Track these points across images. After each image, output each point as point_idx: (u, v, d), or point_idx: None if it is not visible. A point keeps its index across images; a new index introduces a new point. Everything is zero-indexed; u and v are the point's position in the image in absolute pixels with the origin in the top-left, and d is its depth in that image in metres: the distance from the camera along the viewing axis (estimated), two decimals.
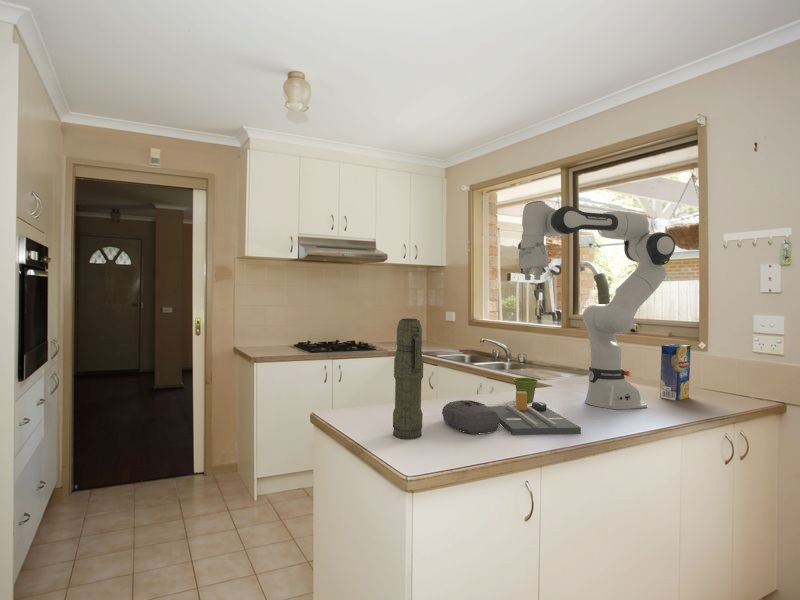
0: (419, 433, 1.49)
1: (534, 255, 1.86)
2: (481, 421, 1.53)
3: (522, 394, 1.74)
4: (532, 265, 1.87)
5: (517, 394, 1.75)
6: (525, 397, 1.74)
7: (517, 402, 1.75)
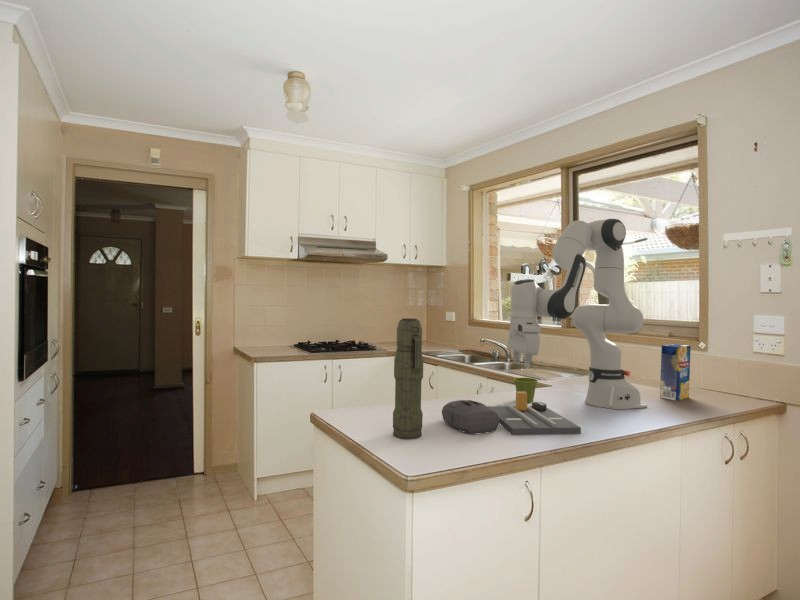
0: (419, 433, 1.49)
1: None
2: (481, 421, 1.53)
3: (522, 394, 1.74)
4: None
5: (517, 394, 1.75)
6: (525, 397, 1.74)
7: (517, 402, 1.75)
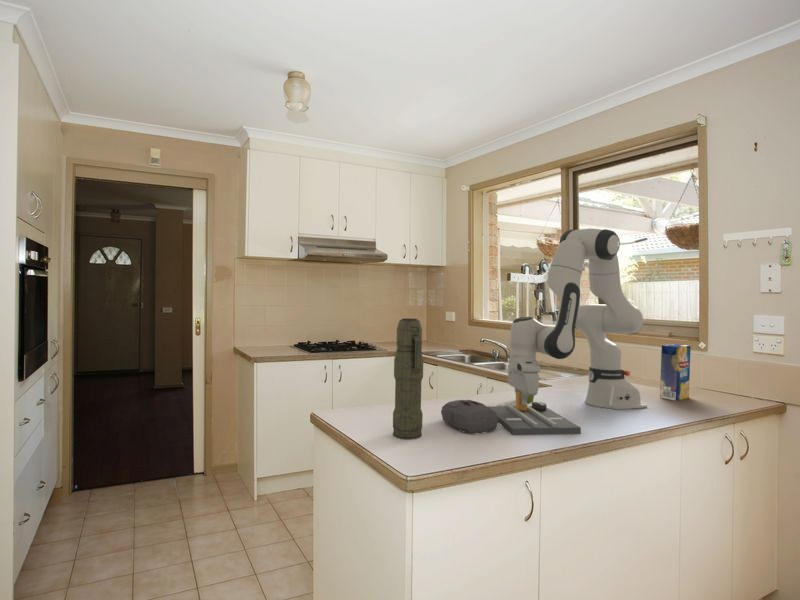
0: (419, 433, 1.49)
1: None
2: (480, 421, 1.53)
3: None
4: None
5: (517, 394, 1.75)
6: None
7: (517, 402, 1.75)
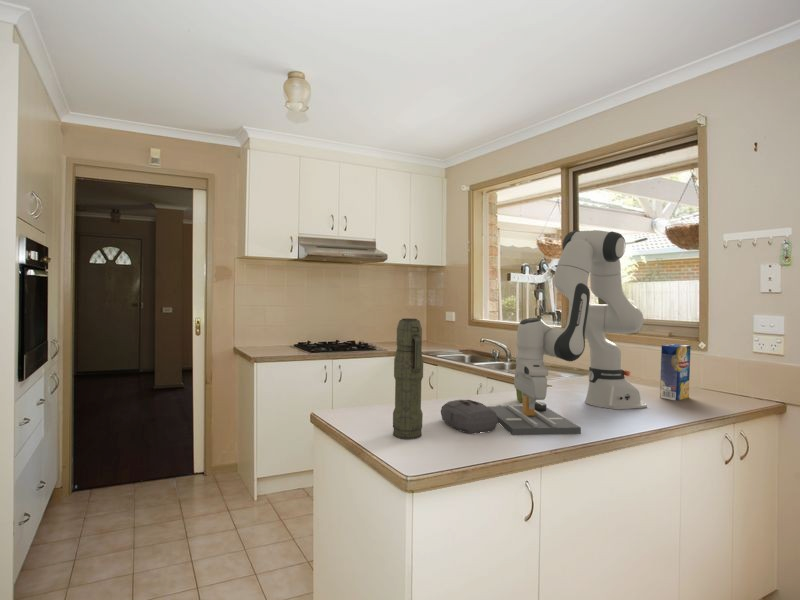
0: (419, 433, 1.49)
1: None
2: (480, 421, 1.54)
3: None
4: None
5: (524, 398, 1.69)
6: None
7: (524, 407, 1.69)
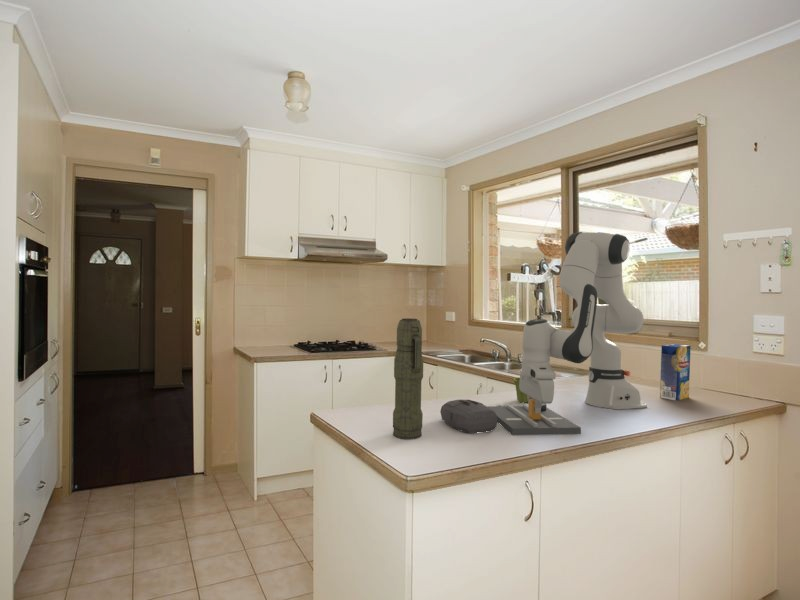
0: (419, 433, 1.49)
1: None
2: (480, 420, 1.54)
3: None
4: None
5: (530, 402, 1.64)
6: None
7: (530, 411, 1.64)
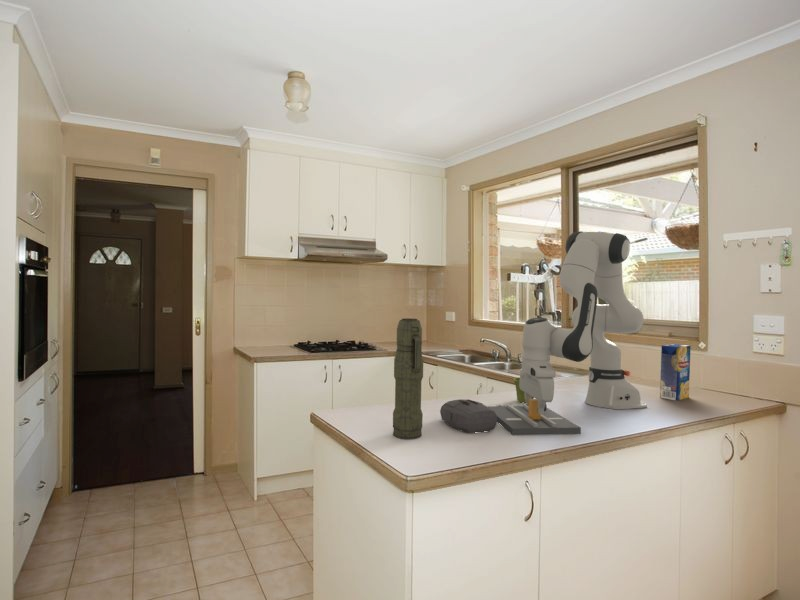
0: (419, 433, 1.49)
1: None
2: (480, 420, 1.54)
3: (536, 402, 1.62)
4: None
5: (530, 402, 1.64)
6: None
7: (530, 411, 1.64)
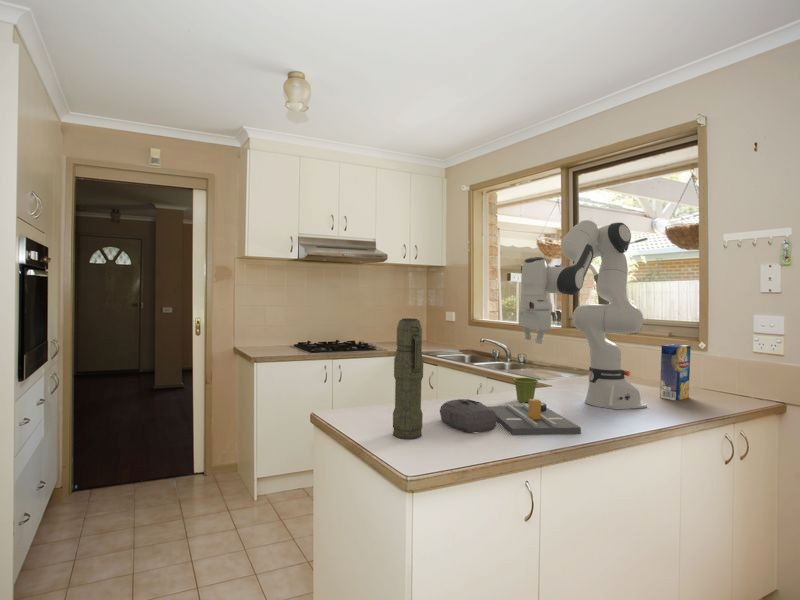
0: (419, 433, 1.49)
1: None
2: (479, 420, 1.54)
3: (536, 402, 1.62)
4: None
5: (530, 402, 1.64)
6: (539, 405, 1.63)
7: (530, 411, 1.64)
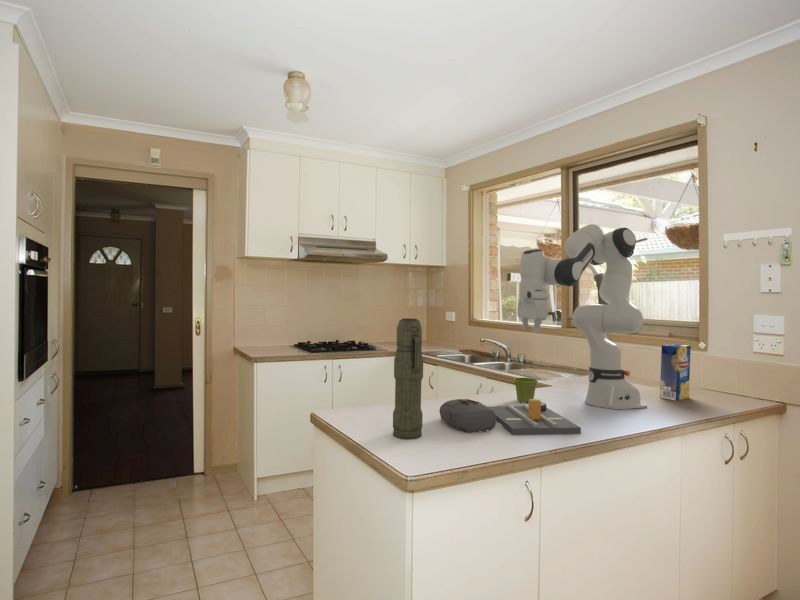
0: (419, 433, 1.49)
1: None
2: (479, 420, 1.55)
3: (536, 402, 1.62)
4: None
5: (530, 402, 1.64)
6: (539, 405, 1.63)
7: (530, 411, 1.64)
